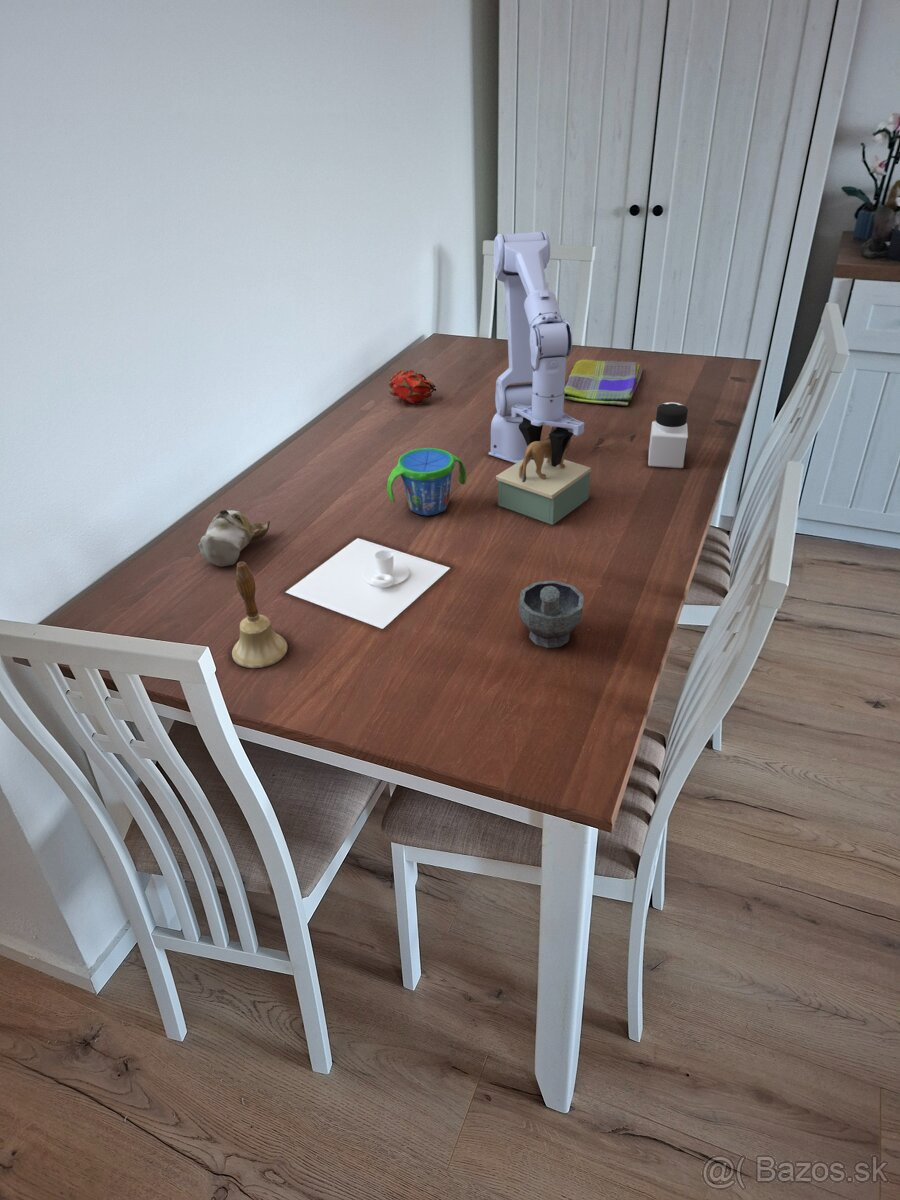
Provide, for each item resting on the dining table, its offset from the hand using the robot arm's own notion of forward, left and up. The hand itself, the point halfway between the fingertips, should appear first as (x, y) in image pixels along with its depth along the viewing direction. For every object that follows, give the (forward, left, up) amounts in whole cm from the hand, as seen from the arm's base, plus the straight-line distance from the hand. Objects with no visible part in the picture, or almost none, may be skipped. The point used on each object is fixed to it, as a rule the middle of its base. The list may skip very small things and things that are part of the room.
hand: (545, 460), depth 159 cm
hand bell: (-9, -64, -9) cm, 65 cm away
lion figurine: (0, 0, -2) cm, 2 cm away
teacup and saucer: (-9, -40, -9) cm, 42 cm away
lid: (0, 0, -3) cm, 3 cm away
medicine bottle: (+10, +30, -9) cm, 33 cm away
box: (0, 0, -9) cm, 9 cm away
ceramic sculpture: (-35, -48, -9) cm, 60 cm away
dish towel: (-22, +58, -9) cm, 62 cm away
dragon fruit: (-54, +23, -9) cm, 59 cm away
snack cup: (-17, -15, -9) cm, 24 cm away
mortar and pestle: (+24, -35, -9) cm, 44 cm away
